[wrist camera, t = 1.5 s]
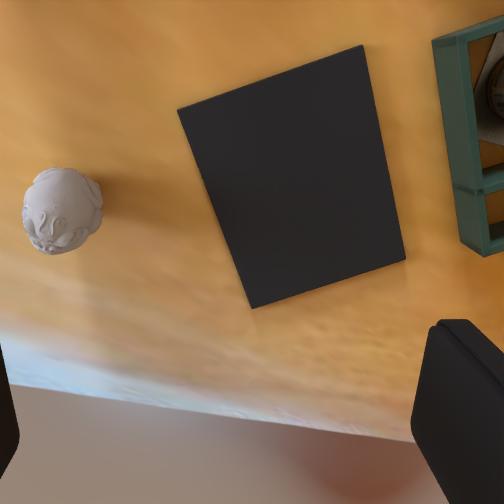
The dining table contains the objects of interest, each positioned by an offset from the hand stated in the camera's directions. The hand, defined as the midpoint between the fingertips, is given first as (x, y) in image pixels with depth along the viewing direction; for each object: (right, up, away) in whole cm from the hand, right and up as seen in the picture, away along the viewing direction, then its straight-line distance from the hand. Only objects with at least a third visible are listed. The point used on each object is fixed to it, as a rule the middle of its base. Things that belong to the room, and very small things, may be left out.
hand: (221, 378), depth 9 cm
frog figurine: (-15, +8, +29) cm, 33 cm away
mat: (+5, +8, +30) cm, 31 cm away
